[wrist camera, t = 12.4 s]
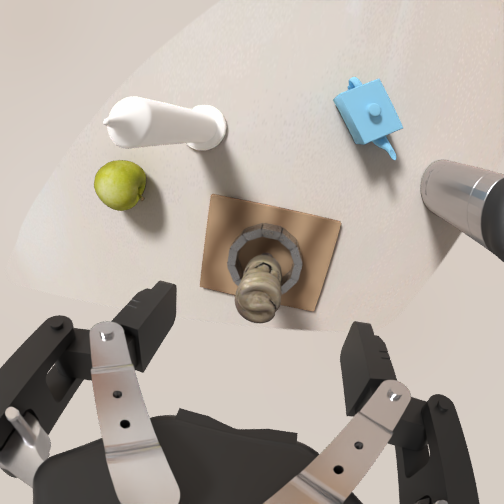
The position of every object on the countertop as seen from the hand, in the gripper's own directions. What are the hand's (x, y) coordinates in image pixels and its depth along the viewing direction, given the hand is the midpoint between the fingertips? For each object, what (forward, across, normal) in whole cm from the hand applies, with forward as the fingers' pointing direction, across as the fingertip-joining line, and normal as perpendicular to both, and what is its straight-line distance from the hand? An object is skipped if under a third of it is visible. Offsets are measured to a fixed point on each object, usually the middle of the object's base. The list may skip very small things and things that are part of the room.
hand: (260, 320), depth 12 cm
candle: (+32, +14, -8) cm, 36 cm away
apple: (+32, +25, +2) cm, 41 cm away
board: (+32, +1, +11) cm, 34 cm away
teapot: (+33, -9, -13) cm, 37 cm away
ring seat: (+32, +1, +11) cm, 34 cm away
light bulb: (+32, +1, +11) cm, 33 cm away
